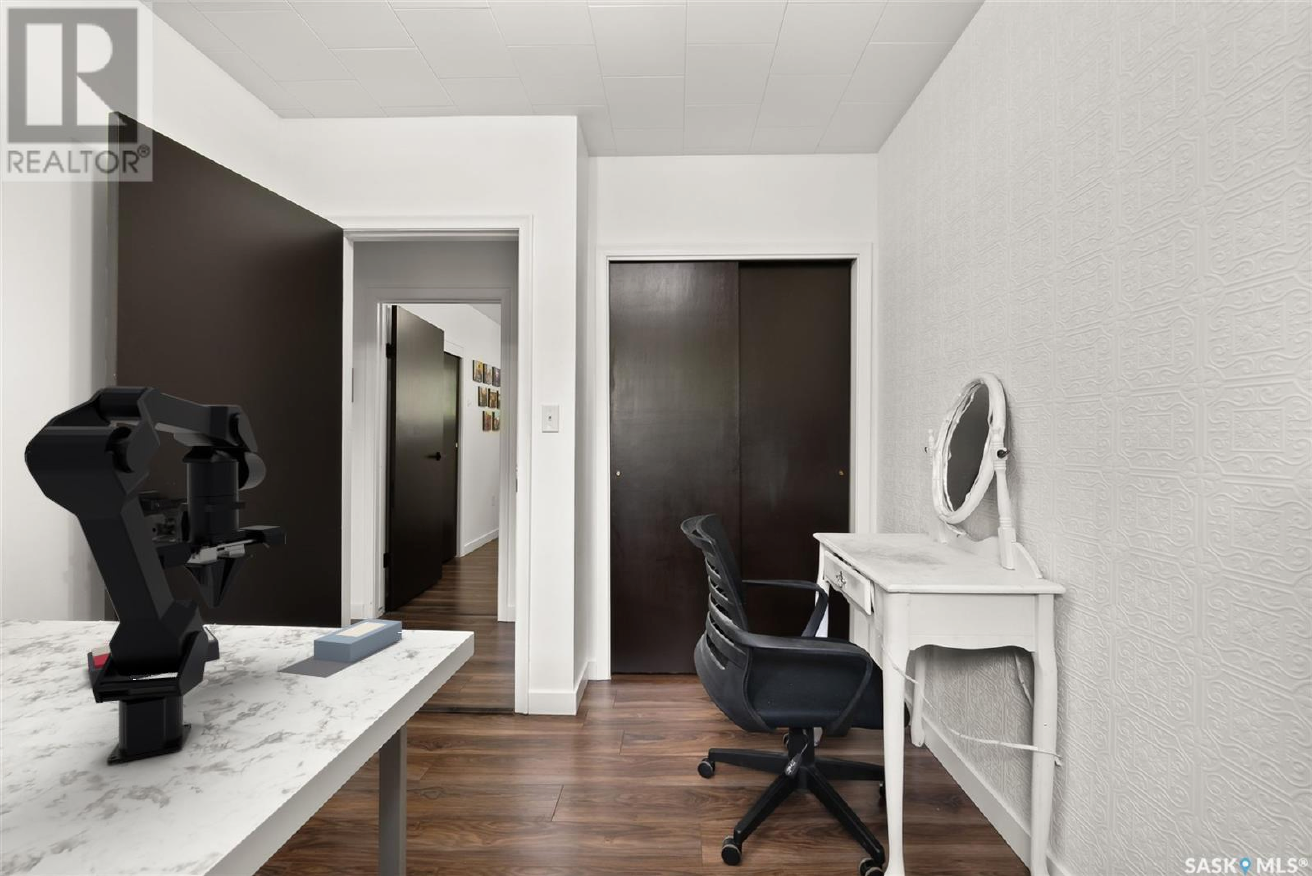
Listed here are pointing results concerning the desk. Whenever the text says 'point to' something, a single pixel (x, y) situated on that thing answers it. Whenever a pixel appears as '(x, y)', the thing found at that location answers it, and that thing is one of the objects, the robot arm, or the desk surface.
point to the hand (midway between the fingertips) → (213, 607)
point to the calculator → (100, 656)
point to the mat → (323, 665)
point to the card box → (357, 640)
